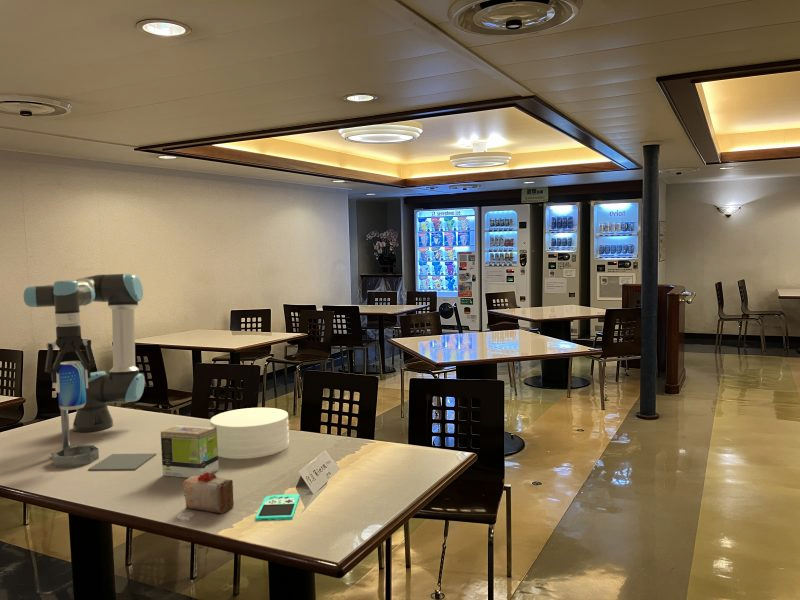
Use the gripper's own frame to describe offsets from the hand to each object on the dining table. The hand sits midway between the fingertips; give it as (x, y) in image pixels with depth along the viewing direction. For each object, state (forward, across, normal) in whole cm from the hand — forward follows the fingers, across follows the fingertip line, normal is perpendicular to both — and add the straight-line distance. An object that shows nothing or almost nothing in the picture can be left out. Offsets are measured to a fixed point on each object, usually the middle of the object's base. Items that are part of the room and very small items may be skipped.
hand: (72, 389), depth 214 cm
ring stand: (+25, 0, +3) cm, 25 cm away
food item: (+25, +14, -73) cm, 79 cm away
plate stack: (+26, +51, -31) cm, 65 cm away
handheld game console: (+26, +28, -88) cm, 96 cm away
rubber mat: (+25, +11, -14) cm, 31 cm away
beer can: (+6, 0, 0) cm, 6 cm away
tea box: (+25, +23, -42) cm, 54 cm away
